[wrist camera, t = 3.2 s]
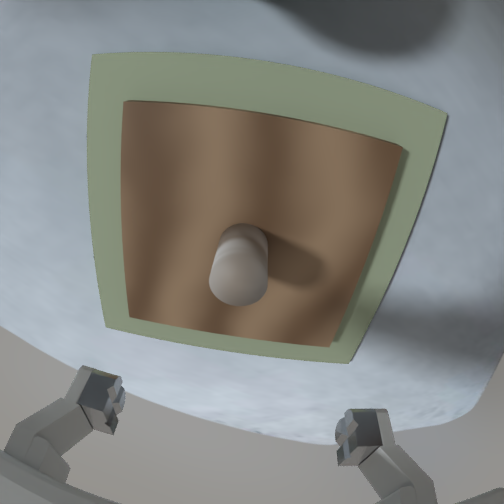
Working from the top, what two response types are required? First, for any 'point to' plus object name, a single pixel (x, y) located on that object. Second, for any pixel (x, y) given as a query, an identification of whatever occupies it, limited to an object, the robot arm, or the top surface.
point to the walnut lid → (247, 219)
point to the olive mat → (266, 101)
